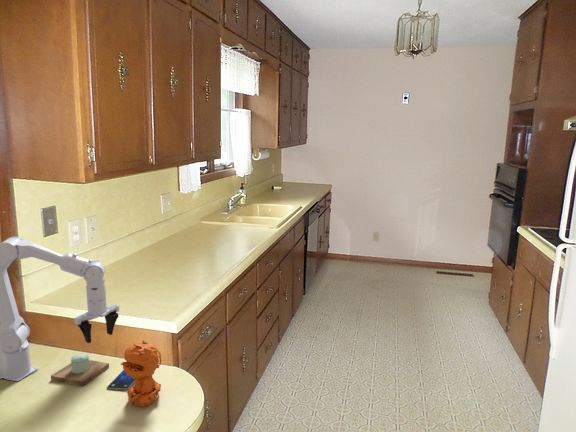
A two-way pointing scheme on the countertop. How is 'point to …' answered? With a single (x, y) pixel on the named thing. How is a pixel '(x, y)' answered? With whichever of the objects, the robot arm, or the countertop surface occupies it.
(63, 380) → the stub block
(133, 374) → the toy dinosaur
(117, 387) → the smartphone
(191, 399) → the countertop surface
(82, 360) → the cap
